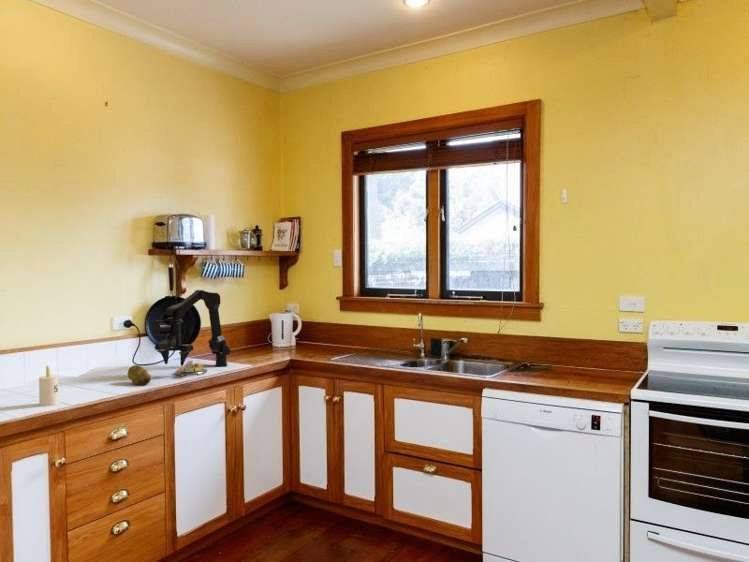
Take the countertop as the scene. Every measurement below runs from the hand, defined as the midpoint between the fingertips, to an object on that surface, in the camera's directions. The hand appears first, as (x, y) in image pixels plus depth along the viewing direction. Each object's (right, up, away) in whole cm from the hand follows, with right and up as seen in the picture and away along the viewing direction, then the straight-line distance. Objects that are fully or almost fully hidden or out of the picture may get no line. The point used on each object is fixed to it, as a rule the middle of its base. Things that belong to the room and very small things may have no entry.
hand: (174, 364), depth 277 cm
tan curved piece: (+7, -3, +2) cm, 8 cm away
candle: (-28, -7, -57) cm, 64 cm away
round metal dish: (+7, -5, +6) cm, 10 cm away
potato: (-9, -6, -20) cm, 23 cm away
